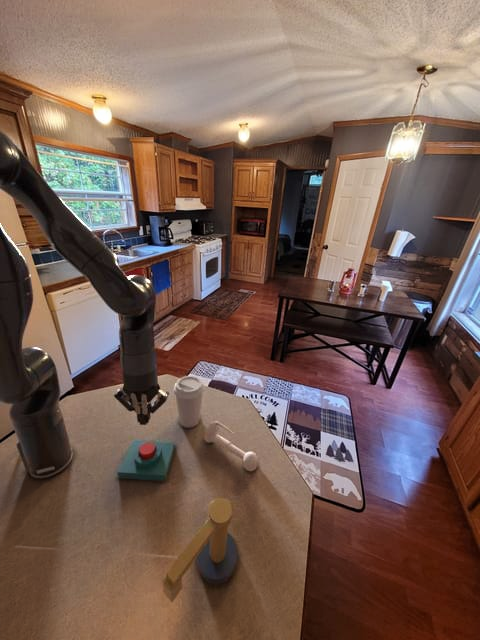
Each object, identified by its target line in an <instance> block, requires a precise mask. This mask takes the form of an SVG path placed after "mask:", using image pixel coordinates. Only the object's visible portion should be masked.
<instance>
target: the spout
mask: <svg viewBox="0 0 480 640" xmlns="http://www.w3.org/2000/svg"><path fill="white" fill-rule="evenodd" d="M232 516H233V506H232V504H231V503H230V501H229V500H228V499H226V498H224V497H218V498H216V499H214V500H212V502H211V503H210V504H209V507H208V519H207V520H206V521H205V522H204V524H203V525H202V527H201V528H200V529H199V530H198V531H197V533H196V534H195V535H194V537H193V538H191V540H190V542H189V543H188V544H187V546H185V548H184V549H183V550H182V552H181V553H180V554H179V556H177V558H176V560H175V561H174V562H173V563H172V565H171V566H170V567H169V568H168V570H167V571H166V572H165V577H164V578H163V579H162V583H161V584H162V592H163V593H164V595H165V596H166V597H167V598H168V600H169V601H170V603H171V604H172V603H173V602H174V601H175V599H176V598H177V597H178V595H180V592H181V591H182V589H183V577H184V576H185V574H186V573H187V571H188V570H189V569H190V567H191V566H192V565H193V563H194V562H195V560H196V559H197V556H198V555H199V554H200V552H201V551H202V549H203V548H204V547H205V545H206V544H207V543H208V541H209V540H210V539H211V537H212V536H213V534H214V533H215V532H216V531H224V530H226V529H227V528H228V529H229V527H230V525H231V524H232V518H233V517H232Z"/></svg>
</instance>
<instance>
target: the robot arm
mask: <svg viewBox="0 0 480 640" xmlns="http://www.w3.org/2000/svg"><path fill="white" fill-rule="evenodd" d="M0 190H1V191H2V192H4V193H6V194H7V195H9V196H10V197H11V198H13V199H14V200H15V201H16V202H17V203H18V204H20V205H21V206H22V207H23V208H24V209H25V210H27V211H28V213H29V214H30V215H31V216H32V217H33V219H34V220H35V221H36V224H37V225H38V226H39V228H40V229H41V231H42V233H43V235H44V236H45V238H46V240H47V241H48V243H49V244H50V245H51V247H52V248H53V249H54V251H56V253H57V254H58V255H60V256H61V258H62V259H64V260H65V261H66V262H67V263H68V264H69V265H71V267H73V268H74V269H75V270H76V271H77V272H79V273H80V274H81V275H82V276H83V277H84V278H86V279H87V280H88V282H89V283H90V284H91V287H92V288H93V290H94V291H95V292H96V294H98V295H99V297H100V298H101V300H102V301H103V302H104V303H105V305H106V306H107V307H108V308H109V309H110V310H112V311H113V312H114V313H115V314H117V315H118V316H121V317H122V321H121V323H120V326H119V330H118V339H119V348H120V367H121V377H122V384H123V385H122V387H119V388H118V389H117V390H116V392H115V393H114V395H113V398H115V399H116V400H117V401H118V402H119V403H120V404H121V405H122V406H123V407H124V408H125V409H127V411H129V412H135V414H136V420H137V423H139V425H140V426H147V424H149V422H150V419H151V414H154V413H156V412H157V411H158V410H159V409H160V408H161V407H162V406H163V405H164V404H165V403H167V400H168V398H169V396H170V392H169V391H163V390H161V386H160V384H159V376H158V358H157V357H158V356H157V350H156V342H155V331H154V324H155V323H154V322H155V314H156V299H157V298H156V297H157V296H156V289H155V287H154V285H153V283H152V282H151V281H150V279H148V278H147V277H146V276H144V275H141V274H132V275H129V276H127V275H126V273H125V272H124V271H123V270H122V268H121V267H120V266H119V264H120V260H119V259H120V258H119V257H118V255H117V254H116V253H115V252H114V251H113V250H112V249H111V248H109V246H108V245H107V244H106V243H105V242H103V240H102V239H101V238H100V237H98V235H96V233H94V231H92V230H91V228H89V227H88V226H87V225H86V224H85V223H84V222H83V221H82V220H81V219H80V218H79V217H78V216H77V215H76V214H75V213H74V212H73V210H71V209H70V208H69V206H67V204H65V202H64V201H63V200H62V199H61V197H60V196H58V194H57V193H56V191H55V190H54V189H53V188H52V187H51V186H50V185H49V184H48V182H47V181H46V180H45V179H44V177H43V176H42V175H41V174H40V173H39V171H38V170H37V169H36V168H35V166H34V165H33V164H32V162H31V161H30V160H29V159H28V157H27V156H26V155H25V154H24V152H23V151H22V150H21V148H19V146H18V145H17V144H16V142H14V140H13V139H12V138H10V137H9V136H8V135H7V134H6V133H5V132H4V131H2V130H1V129H0ZM33 304H34V290H33V284H32V277H31V271H30V268H29V264H28V263H27V261H26V259H25V257H24V256H23V254H22V252H21V251H20V249H18V247H17V246H16V244H15V243H14V242H13V241H12V240H11V238H10V237H9V236H8V235H7V233H6V232H5V230H4V228H3V227H2V225H1V224H0V403H3V404H6V405H11V406H10V408H9V411H8V416H9V419H10V421H11V423H12V427H13V429H14V432H15V435H16V438H17V441H18V442H17V444H16V448H17V450H18V453H19V456H20V459H21V462H22V464H23V467H24V468H25V472H26V473H29V474H30V476H31V477H32V478H34V479H37V480H42V479H43V480H44V479H49V478H52V477H53V476H56V475H58V474H59V473H61V472H62V471H64V470H65V469H67V467H68V466H69V465H70V463H72V460H73V457H74V451H73V448H72V445H71V442H70V438H69V434H68V431H67V427H66V423H65V419H64V415H63V412H62V408H61V404H60V398H61V385H60V381H59V375H58V371H57V367H56V363H55V362H54V360H53V358H52V357H51V356H50V354H48V353H47V352H46V351H45V350H44V349H41V348H39V347H35V346H34V347H33V346H29V347H23V339H24V335H25V332H26V328H27V325H28V322H29V319H30V316H31V313H32V310H33ZM155 397H156V400H155V401H154V402H153V403H152V401H153V399H154V398H155Z"/></svg>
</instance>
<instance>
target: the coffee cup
mask: <svg viewBox="0 0 480 640" xmlns="http://www.w3.org/2000/svg"><path fill="white" fill-rule="evenodd" d="M204 392H205V384H204V382H203V381H202V379H201V378H200V377H199V376H195V375H185V376H182V377H180V378H179V379H177V381H176V383H175V384H174V386H173V394H174V395H175V400H176V406H177V414H178V421H179V424H180V425H181V427H184V428H189V429H190V428H194V427H195V426H197V425H198V424H199V422H200V416H201V410H202V409H201V408H202V400H203V395H204Z"/></svg>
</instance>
